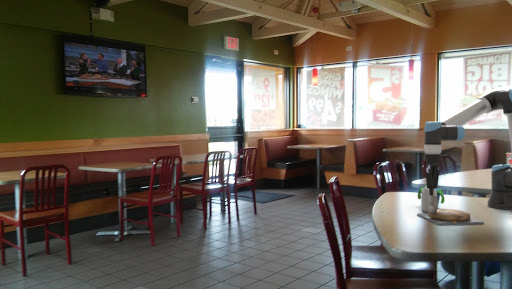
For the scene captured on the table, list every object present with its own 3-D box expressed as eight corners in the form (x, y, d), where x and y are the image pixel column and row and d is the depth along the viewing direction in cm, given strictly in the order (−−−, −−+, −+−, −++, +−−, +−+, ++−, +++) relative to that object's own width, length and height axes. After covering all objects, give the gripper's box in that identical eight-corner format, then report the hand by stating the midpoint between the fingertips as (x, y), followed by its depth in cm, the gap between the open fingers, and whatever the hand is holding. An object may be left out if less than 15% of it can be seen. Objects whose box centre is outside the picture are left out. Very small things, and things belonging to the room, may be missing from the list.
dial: (456, 212, 209) (456, 192, 208) (478, 220, 191) (478, 198, 190) (419, 213, 207) (420, 193, 207) (438, 221, 189) (439, 199, 189)
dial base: (457, 214, 210) (457, 211, 210) (483, 224, 190) (483, 221, 189) (417, 215, 209) (417, 212, 209) (439, 225, 188) (439, 222, 188)
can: (438, 213, 214) (438, 189, 213) (422, 212, 215) (422, 189, 215) (435, 210, 221) (435, 187, 220) (420, 209, 222) (420, 187, 222)
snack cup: (449, 209, 223) (449, 190, 223) (434, 210, 219) (434, 191, 219) (427, 204, 238) (427, 186, 237) (412, 205, 234) (412, 187, 233)
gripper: (430, 152, 211) (429, 199, 212) (419, 153, 201) (418, 202, 202) (445, 153, 205) (445, 201, 206) (435, 154, 196) (434, 204, 197)
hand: (432, 201), depth 204 cm, fingers closed
